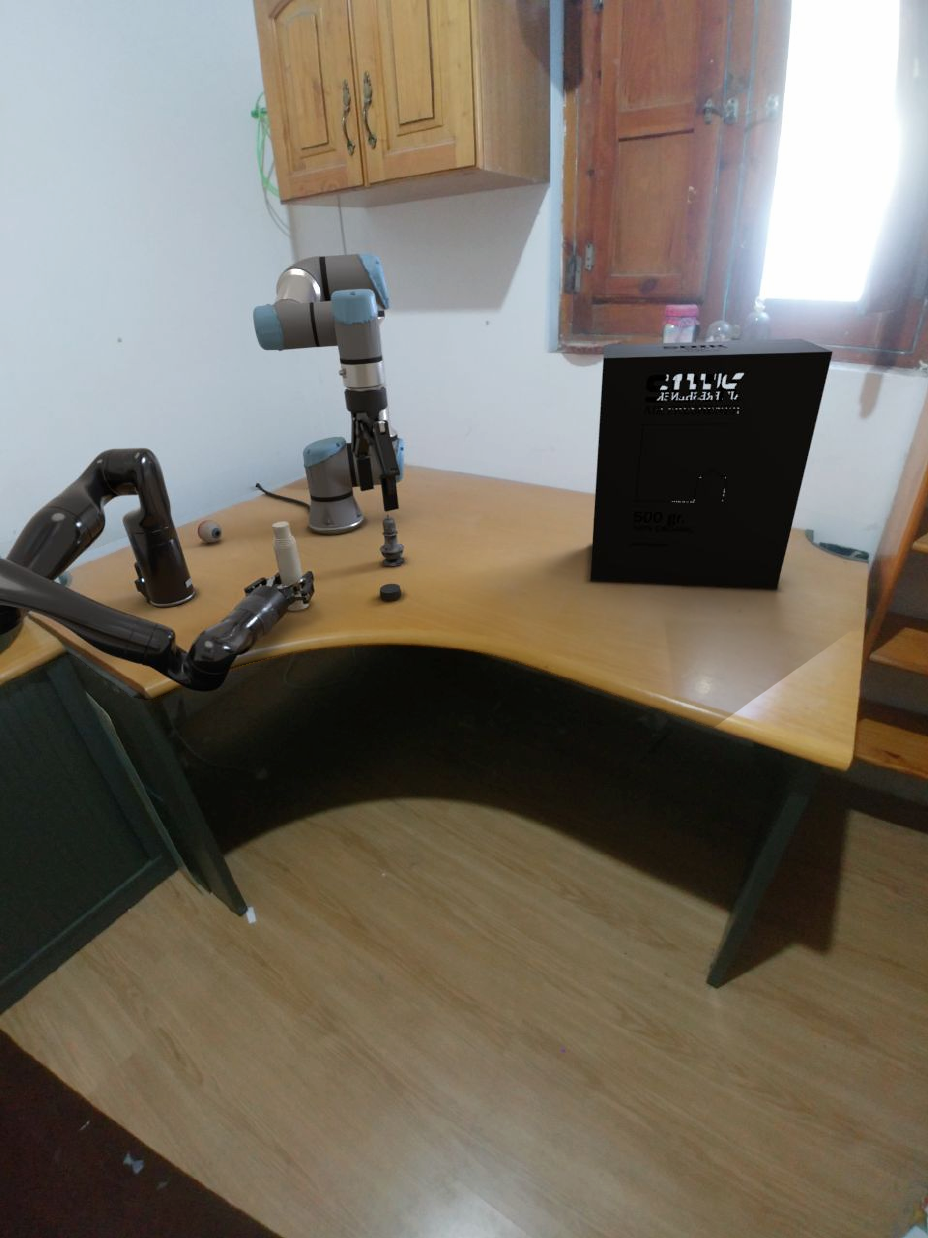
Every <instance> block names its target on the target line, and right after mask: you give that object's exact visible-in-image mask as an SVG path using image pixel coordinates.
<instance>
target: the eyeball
mask: <svg viewBox="0 0 928 1238" xmlns="http://www.w3.org/2000/svg"><path fill="white" fill-rule="evenodd" d="M222 534H223V529H222V527H221V525H220V524H219V523H218V522H217V521H215V520H212V519H207V520H204V521H202V522H201V523H200V524H199V525H198V527H197V535H198V538H199V539H201V540H202V541H203V542H205V543H208V544H213V543H216V542H218V541H219V540H220V539H221V538H222Z"/></svg>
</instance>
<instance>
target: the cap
mask: <svg viewBox="0 0 928 1238" xmlns="http://www.w3.org/2000/svg"><path fill="white" fill-rule="evenodd" d="M379 594H380V599H381V601H384V602H395V601H398V600H400V599H401V598H402V588H401V585H399V584H397V583H387V584H383V585H382V586H380V587H379Z"/></svg>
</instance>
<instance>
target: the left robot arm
mask: <svg viewBox="0 0 928 1238" xmlns="http://www.w3.org/2000/svg"><path fill="white" fill-rule="evenodd" d="M161 466H162V465H161V463H160V460H159V459H158V457H157V455H156V454H155V453H154V452H153V451H152V450H151V449H149V448H147V447H121V448H118V447H117V448H110V449H106V450H103V451H101V452H100V453H98V454H97V456H96V457H95V458H94V459H93V460H92V461H91V462H90V463H89V464H88V465H87V467H86V468H85V469H84V470H83V472H82V473H81V474H80V475H79V476H78V477H77V478H76V479H75V480H74V481H73V482H71V483H70V484H69V485H67V487H65V489H63V490H62V491H61V492H60V493H58V495H56V496H55V497H53V498H52V499H50V500H49V501H48V502H47V503H46V504H45V505H43V506H42V507H41V508H39V510H37V511H36V512H35V513H34V514H33V515H32V516H31V517H30V519H29V520H28V521H27V522H26V524H25V526H23V528H22V530H21V531H20V533H19V535H18V537H17V538H16V539H15V542H14V544H13V545H12V547H11V548H10V551H9V552H8V554H7V556H6V557H5V558H4V557H0V637H1V636H4V635H6V634H8V633H10V632H12V631H13V630H15V629H16V628H17V627H18V626H19V625H21V623H22V622H23V621H24V619H25V618H26V617H27V616H28V614H29V613H30V612H32V613H35V614H38V615H41V616H44V617H46V618H48V619H50V620H52V621H55V622H56V623H58V624H60V625H61V626H63V627H65V628H66V629H67V630H69V631H71V632H72V633H74V634H75V635H76V636H77V637H79V638H80V639H81V640H83V641H84V642H86V643H87V644H88V645H90V646H92V647H93V648H95V649H96V650H98V651H101V652H102V653H104V654H106V655H109V656H111V657H113V658H117V659H120V660H124V661H127V662H130V663H133V664H136V665H141V666H144V667H148V668H151V669H153V671H156V672H157V673H159V674H161V675H162V676H164V677H166V678H167V679H170V680H172V681H173V682H175V683H176V684H178V685H180V686H182V687H184V688H186V689H187V690H191V691H195V692H201V693H203V692H205V693H207V692H211V691H212V692H213V691H215V690H217V689H219V688H220V687H222V685H223V684H224V683H225V680H226V679H227V676H228V675H229V672H230V670H231V668H232V666H233V664H234V662H235V661H236V659H237V658H238V656H242V655H244V654H246V653H248V652H249V651H250V650H252V649H253V647H255V645H256V644H257V643H258V642H259V641H260V640H261V639H263V638H264V637H265V636H266V635H267V634H269V632H271V630H273V628H274V627H275V626H276V625H277V624H278V623H279V622H280V621H281V620H282V619H283V618H284V617H285V616H286V614H287V611H288V610H289V609H288V607H289V605H291V604H293V603H294V602H295V601H303V604H308V603H309V604H310V602H311V600H312V598H313V596H314V594H315V592H316V589H315V586H314V585H315V584H314V581H315V576H314V573H313V571H311V570H307V571H306V572H305V573H303V576H302V577H301V579H299V580H297V581H291V582H289V583H287V584H285V585H282V582H281V578H280V574H279V571H278V572H276V573H275V574H274V575H273V576H269V577H268V578H266V577H265V576H263V577H260V578H259V579H256V580H255V581H254V582H252V583H250V584H249V585H247V586H246V587H244V588H243V591H244V595H245V597H244V598H243V599H241V601H240V602H239V603H237V604H236V606H235V607H234V608H233V610H232V611H231V612H230V613H229V614H227V616H226V617H224V618H223V619H222V620H221V621H220V622H218V623H215V624H213V625H212V626H210V627H208V628H206V629H204V630H203V631H202V632H200V633H199V634H198V635H197V636H196V638H195V639H194V640H193V641H192V643H191V645H190V648H189V650H188V651H187V650H185V649H183V648H182V647H180V646H179V645H177V640H176V639H177V636H176V632H175V630H174V629H173V628H171V627H169V626H167V625H164V624H161V623H158V622H155V621H152V620H149V619H146V618H143V617H140V616H136V615H134V614H130V613H127V612H124V611H121V610H119V609H116V608H114V607H110V606H108V605H106V604H104V603H102V602H100V601H97V600H95V599H93V598H90V597H88V596H86V595H84V594H83V593H80V592H78V591H75V590H74V589H72V588H69V587H68V586H66V585H63V584H61V583H59V582H57V581H56V580H57V579H58V578H59V577H60V576H61V575H63V573H64V572H66V570H67V569H68V568H69V567H71V565H73V563H75V562H76V560H77V559H78V558H79V557H80V556H81V555H83V554H84V553H86V551H87V550H88V549H89V548H90V547H91V546H92V545H93V544H94V543H95V542H96V541H97V540H98V539H99V537H100V536H102V534H103V532H104V530H105V527H106V513H105V508H104V507H106V505H107V504H109V502H111V501H112V500H114V499H115V498H118V497H123V496H124V497H125V496H128V497H129V496H138V500H139V506H138V507H136V508H134V509H132V510H129V511H128V512H126V513H125V514H123V516H122V524H123V527H124V530H125V532H126V535H127V538H128V541H129V544H130V547H131V549H132V553H133V555H134V557H135V562H134V563H133V566H134V569H135V573H136V576H137V579H135V580H134V585H135V588H136V590H137V592H139V593H140V594H141V595H142V596H143V597H144V598H145V601H146V603H148V604H151V606H153V607H157V608H170V607H174V606H175V607H176V606H178V605H182V604H184V603H186V602H189V601H190V600H192V599H193V598H194V597H195V596H196V589H195V587H194V584H193V583H194V582H193V579H192V576H191V574H190V572H189V568H188V565H187V561H186V558H185V554H184V552H183V547H182V545H181V542H180V539H179V536H178V532H177V529H176V526H175V523H174V520H173V517H172V508H171V501H170V497H169V493H168V489H167V486H166V481H165V477H164V472H163V469H162V467H161ZM300 584H301V587H302V588H300V589H299V585H300ZM292 588H293V589H292Z"/></svg>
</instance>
